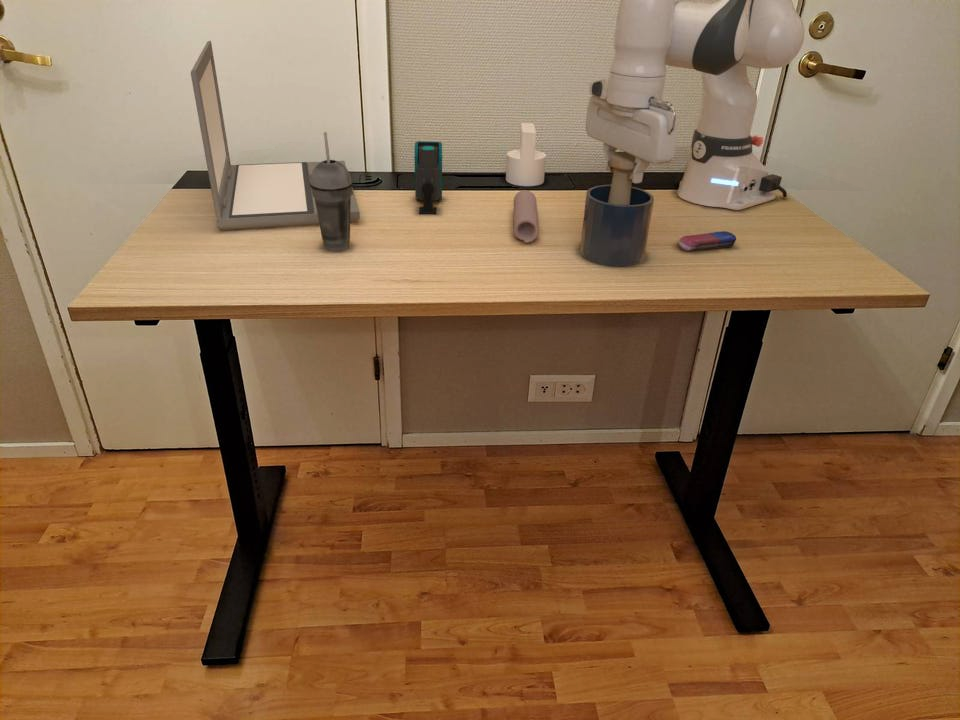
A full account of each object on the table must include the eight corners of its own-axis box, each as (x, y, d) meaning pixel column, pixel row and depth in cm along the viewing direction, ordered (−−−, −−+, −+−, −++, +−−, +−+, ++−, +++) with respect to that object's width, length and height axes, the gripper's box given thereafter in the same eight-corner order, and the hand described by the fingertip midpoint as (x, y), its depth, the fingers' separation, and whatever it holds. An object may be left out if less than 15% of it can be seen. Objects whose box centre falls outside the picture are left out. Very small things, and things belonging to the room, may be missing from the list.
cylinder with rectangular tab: (545, 186, 159) (549, 133, 153) (506, 185, 159) (508, 132, 153) (542, 175, 167) (546, 123, 160) (505, 173, 167) (507, 122, 160)
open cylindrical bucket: (618, 238, 134) (626, 181, 128) (657, 260, 125) (667, 201, 119) (567, 246, 129) (573, 189, 123) (604, 270, 120) (612, 209, 114)
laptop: (360, 224, 135) (350, 68, 120) (217, 233, 129) (187, 70, 114) (345, 171, 164) (335, 40, 149) (227, 176, 158) (205, 40, 143)
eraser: (685, 253, 128) (687, 244, 127) (674, 244, 132) (675, 235, 131) (738, 246, 131) (740, 237, 130) (725, 238, 134) (727, 229, 133)
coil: (541, 221, 127) (538, 190, 143) (515, 218, 127) (515, 187, 142) (536, 245, 130) (534, 212, 145) (511, 241, 130) (512, 209, 145)
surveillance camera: (412, 154, 135) (414, 141, 143) (413, 213, 141) (415, 197, 150) (441, 154, 135) (442, 141, 144) (441, 214, 141) (442, 198, 150)
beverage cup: (322, 257, 121) (311, 141, 111) (311, 242, 127) (299, 130, 116) (362, 250, 124) (355, 137, 114) (349, 236, 130) (341, 127, 119)
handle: (622, 233, 128) (634, 151, 121) (631, 246, 123) (644, 162, 115) (596, 233, 128) (607, 151, 120) (604, 246, 123) (616, 162, 115)
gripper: (693, 103, 106) (677, 192, 113) (613, 79, 121) (603, 158, 128) (661, 106, 103) (646, 197, 110) (583, 81, 118) (575, 162, 126)
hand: (622, 176), depth 119 cm, fingers closed on handle, 5 cm apart
